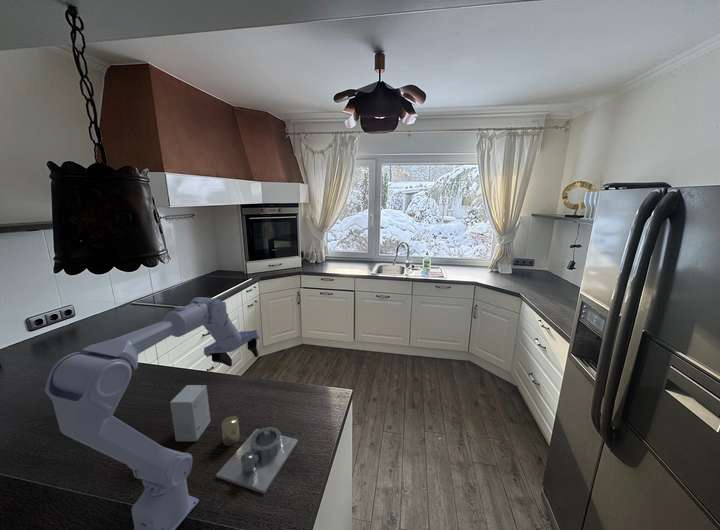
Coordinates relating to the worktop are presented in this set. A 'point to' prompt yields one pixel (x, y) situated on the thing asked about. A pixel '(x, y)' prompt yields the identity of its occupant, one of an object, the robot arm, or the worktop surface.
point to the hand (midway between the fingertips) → (243, 358)
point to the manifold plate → (261, 466)
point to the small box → (190, 412)
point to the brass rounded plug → (230, 430)
